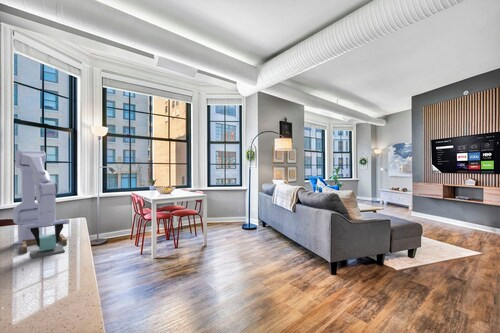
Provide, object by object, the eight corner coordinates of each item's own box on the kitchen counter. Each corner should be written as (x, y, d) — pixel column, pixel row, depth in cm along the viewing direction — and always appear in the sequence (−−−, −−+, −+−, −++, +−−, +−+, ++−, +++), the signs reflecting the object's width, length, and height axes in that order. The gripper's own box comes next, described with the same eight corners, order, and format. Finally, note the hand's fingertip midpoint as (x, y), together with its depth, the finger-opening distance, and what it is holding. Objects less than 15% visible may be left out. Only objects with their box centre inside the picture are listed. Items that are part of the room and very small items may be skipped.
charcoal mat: (30, 252, 99) (30, 250, 99) (61, 246, 106) (61, 244, 106) (32, 259, 92) (32, 257, 92) (64, 252, 99) (64, 250, 99)
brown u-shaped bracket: (21, 246, 108) (21, 240, 108) (62, 238, 118) (62, 233, 118) (23, 253, 98) (22, 247, 98) (66, 244, 108) (66, 239, 108)
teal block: (39, 248, 99) (38, 236, 99) (54, 245, 103) (54, 233, 103) (40, 251, 96) (39, 238, 96) (56, 248, 99) (55, 236, 99)
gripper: (23, 215, 91) (23, 251, 91) (70, 210, 101) (70, 242, 101) (22, 213, 96) (23, 246, 96) (67, 208, 106) (67, 238, 106)
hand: (47, 244), depth 99 cm, fingers closed on teal block, 5 cm apart
